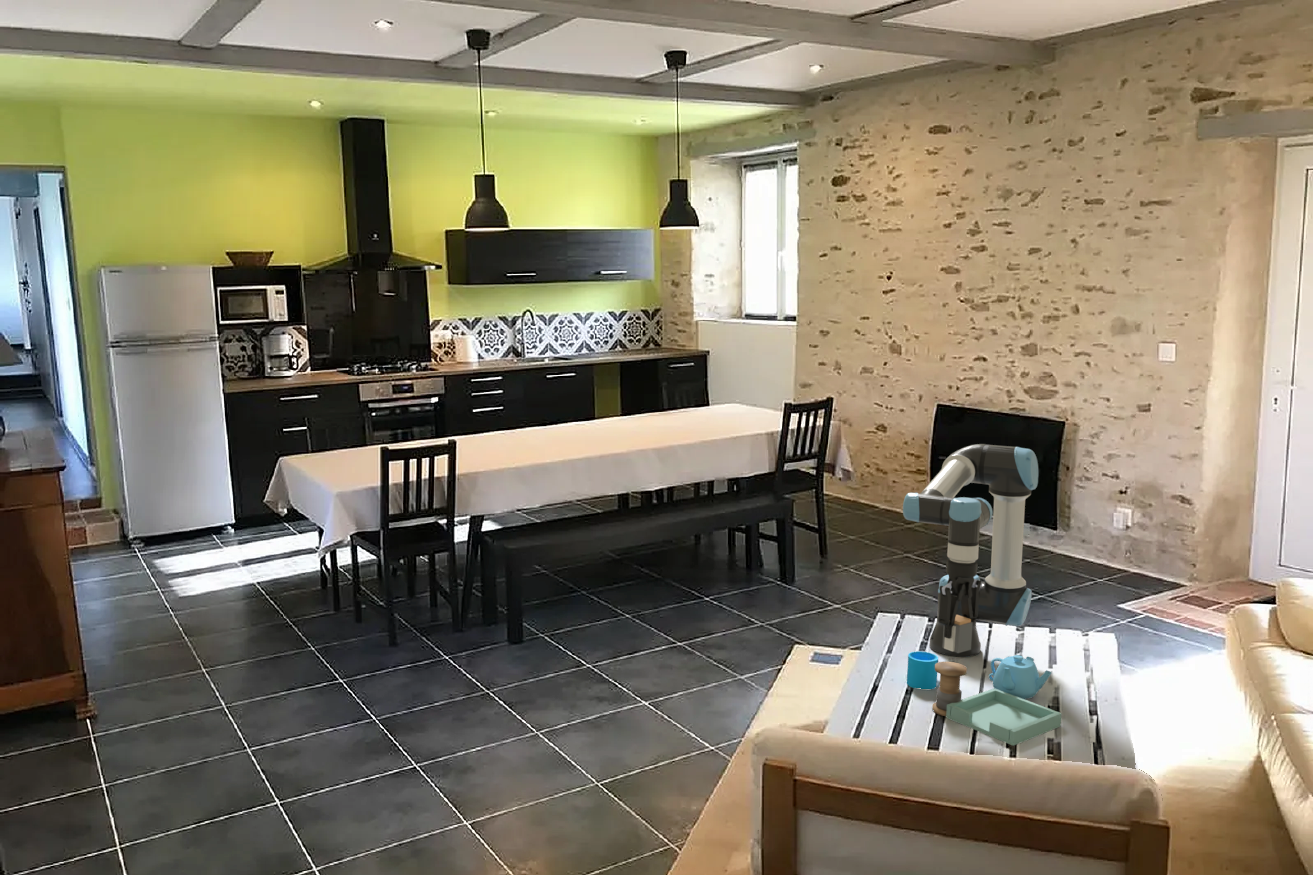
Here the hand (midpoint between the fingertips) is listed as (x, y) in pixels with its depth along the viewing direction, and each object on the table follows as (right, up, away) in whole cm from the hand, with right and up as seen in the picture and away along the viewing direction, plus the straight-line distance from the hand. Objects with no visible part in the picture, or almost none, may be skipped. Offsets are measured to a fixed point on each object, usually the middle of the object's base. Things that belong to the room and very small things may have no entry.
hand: (956, 647), depth 268 cm
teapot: (+21, -17, +17) cm, 32 cm away
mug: (-2, -15, +26) cm, 30 cm away
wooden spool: (0, -18, +6) cm, 19 cm away
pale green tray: (+12, -19, 0) cm, 22 cm away
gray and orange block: (0, 0, 0) cm, 0 cm away
